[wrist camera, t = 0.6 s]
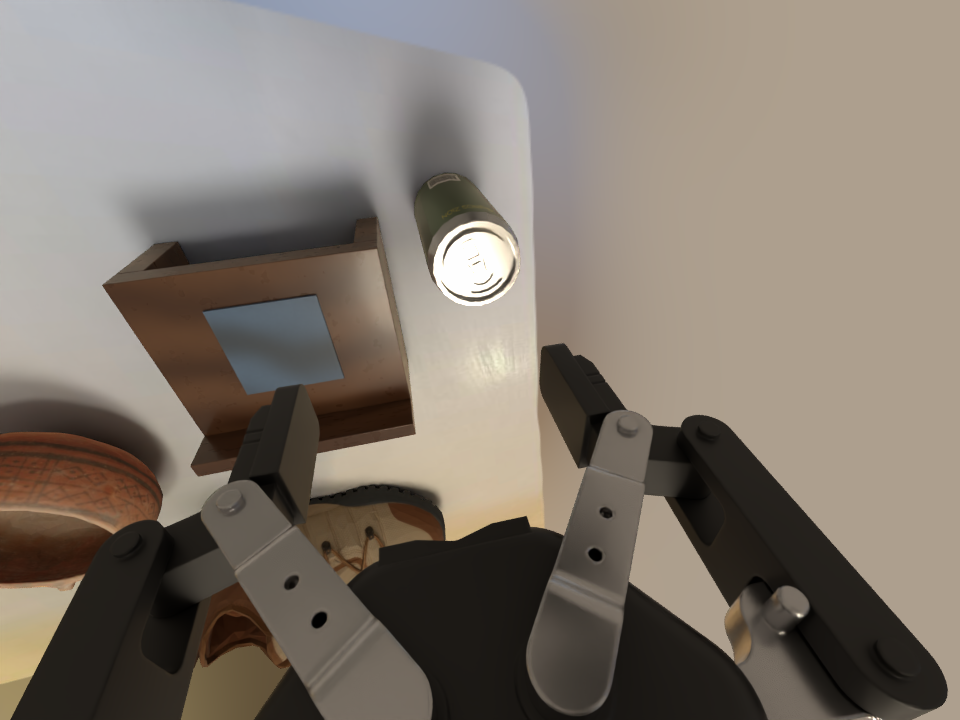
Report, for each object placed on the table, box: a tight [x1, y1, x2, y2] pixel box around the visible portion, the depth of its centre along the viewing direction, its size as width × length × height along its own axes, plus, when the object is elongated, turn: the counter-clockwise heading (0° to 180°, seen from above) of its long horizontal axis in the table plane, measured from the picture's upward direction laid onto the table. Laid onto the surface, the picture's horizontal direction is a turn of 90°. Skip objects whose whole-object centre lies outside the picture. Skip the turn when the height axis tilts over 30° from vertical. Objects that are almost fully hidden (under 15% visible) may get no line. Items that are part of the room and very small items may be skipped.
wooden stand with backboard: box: [102, 217, 416, 476], centre depth 30 cm, size 14×16×10 cm
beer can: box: [414, 173, 521, 306], centre depth 27 cm, size 5×5×12 cm
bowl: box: [0, 432, 163, 591], centre depth 34 cm, size 16×16×10 cm
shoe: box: [194, 486, 446, 669], centre depth 44 cm, size 10×27×15 cm, turn 82°
